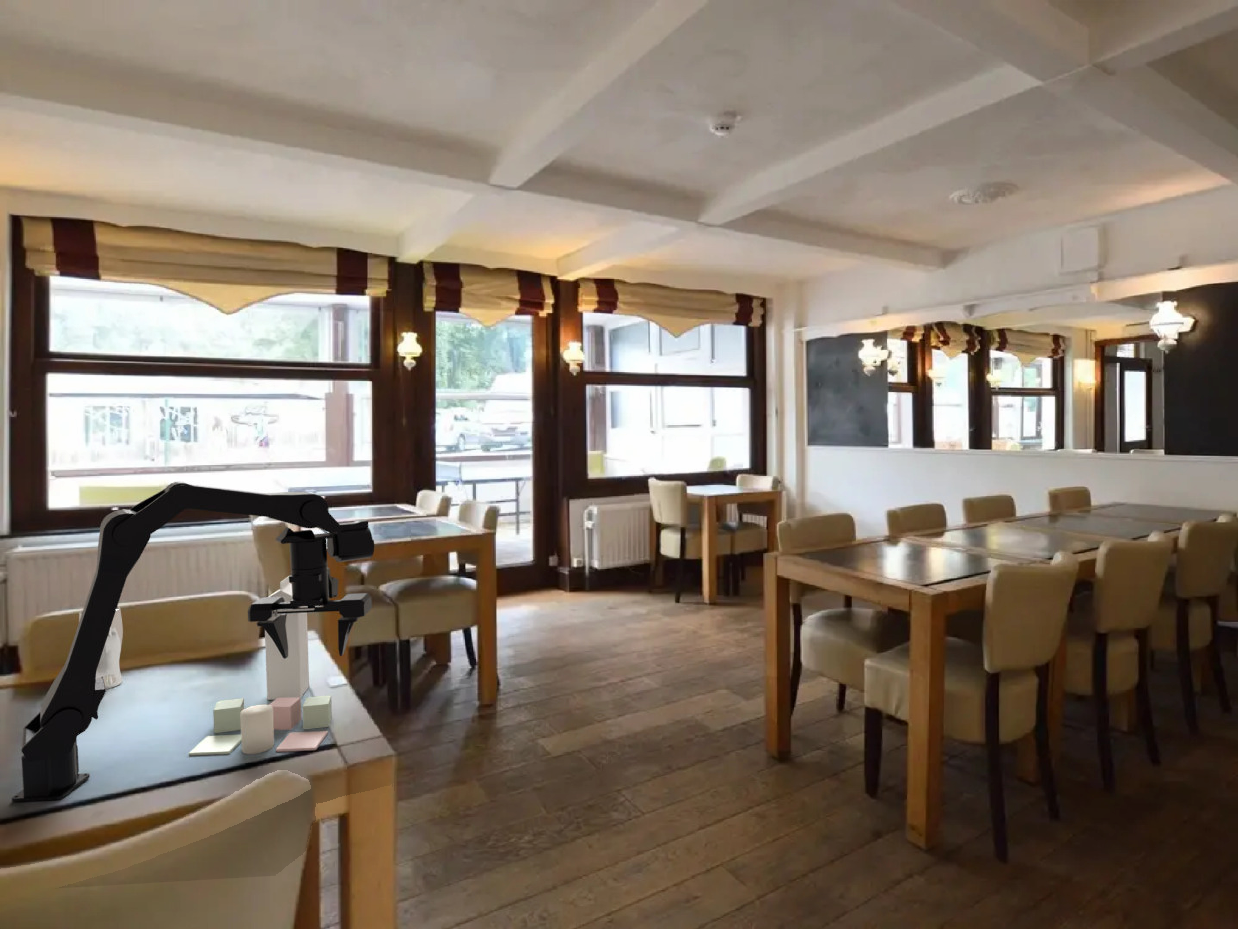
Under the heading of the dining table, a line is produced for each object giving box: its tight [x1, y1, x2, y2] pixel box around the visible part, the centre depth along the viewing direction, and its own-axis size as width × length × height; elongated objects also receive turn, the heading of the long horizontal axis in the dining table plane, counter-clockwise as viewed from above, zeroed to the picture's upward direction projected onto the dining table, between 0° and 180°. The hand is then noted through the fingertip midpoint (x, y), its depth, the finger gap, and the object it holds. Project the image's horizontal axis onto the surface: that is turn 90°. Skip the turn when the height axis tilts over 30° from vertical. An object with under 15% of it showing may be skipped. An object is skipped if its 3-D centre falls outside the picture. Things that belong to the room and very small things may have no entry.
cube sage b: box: [212, 697, 245, 734], centre depth 121 cm, size 4×4×4 cm
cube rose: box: [268, 697, 303, 731], centre depth 122 cm, size 4×4×4 cm
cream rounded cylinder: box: [240, 704, 275, 755], centre depth 114 cm, size 5×5×6 cm
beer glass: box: [78, 605, 124, 690], centre depth 141 cm, size 7×7×15 cm
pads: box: [188, 730, 329, 756], centre depth 115 cm, size 6×19×1 cm, turn 95°
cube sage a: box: [302, 695, 333, 730], centre depth 123 cm, size 4×4×4 cm
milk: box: [264, 575, 310, 701], centre depth 136 cm, size 6×6×22 cm
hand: (313, 656), depth 122 cm, fingers open, 9 cm apart
